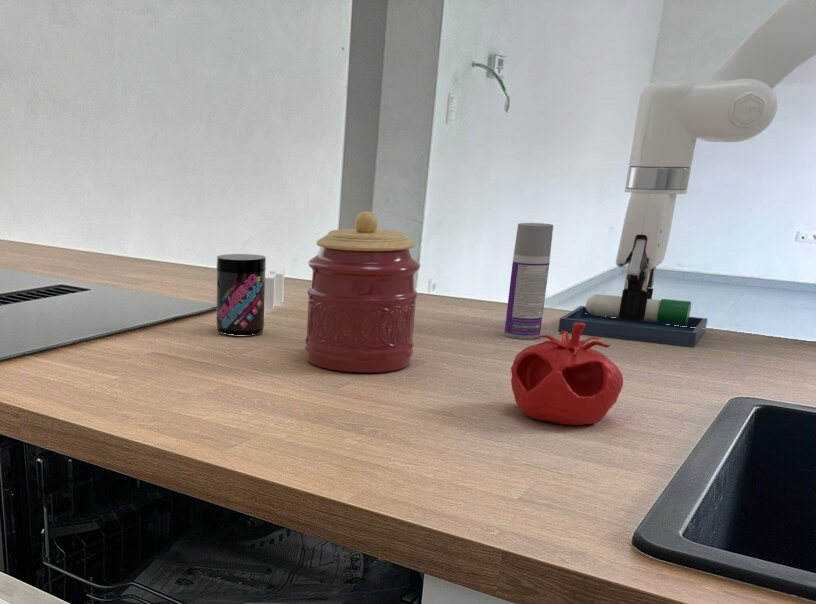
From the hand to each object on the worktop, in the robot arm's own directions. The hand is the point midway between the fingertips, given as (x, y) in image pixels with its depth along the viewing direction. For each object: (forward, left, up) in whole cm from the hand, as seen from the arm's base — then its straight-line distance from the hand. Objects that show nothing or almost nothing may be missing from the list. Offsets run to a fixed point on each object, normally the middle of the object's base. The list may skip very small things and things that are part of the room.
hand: (633, 316), depth 121 cm
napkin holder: (+53, +13, -2) cm, 54 cm away
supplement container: (+45, +33, -2) cm, 56 cm away
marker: (0, 0, 0) cm, 0 cm away
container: (+12, +12, -2) cm, 17 cm away
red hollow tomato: (-2, +48, -2) cm, 48 cm away
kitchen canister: (+24, +39, -2) cm, 46 cm away
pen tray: (0, 0, -2) cm, 2 cm away
